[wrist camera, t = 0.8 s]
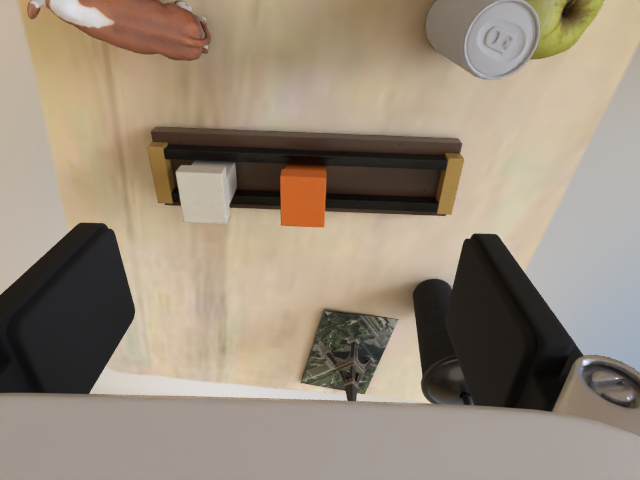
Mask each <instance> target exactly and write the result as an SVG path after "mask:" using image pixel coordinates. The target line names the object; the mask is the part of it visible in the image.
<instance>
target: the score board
mask: <svg viewBox="0 0 640 480" xmlns="http://www.w3.org/2000/svg"><path fill="white" fill-rule="evenodd" d="M151 134H152V140H153V142H167V143H168V145H169V144H172V145H198V146H223V147H249V148H274V149H300V150H326V151H351V152H377V153H402V154H428V155H445V153H455V154H460V151H461V146H462V143H461V142H460V140H459V139H454V138H429V137H403V136H378V135H352V134H327V133H301V132H276V131H250V130H225V129H199V128H174V127H156V128H154V129H153V130H152V131H151ZM194 161H195V160H176V159H171V165H172V171H173V177H174V183H175V188H176V187H178V184H177V178H176V171H177V170H178V168H179V167H180V166H181V165H192V164H193V162H194ZM235 166H236V178H237V188H236V190H260V191H280V175H281V171H282V169H285V166H286V164H278V163H252V162H235ZM440 175H441V170H432V169H406V168H381V167H355V166H329V165H326V193H337V194H363V195H389V196H415V197H436V194H437V189H438V184H439V180H440ZM165 205H178V206H181V202H173V203H172V204H170V203H165ZM229 207H230V208H256V209H281V206H263V205H237V204H229ZM325 211H333V212H359V213H385V214H411V215H437V216H446V214H437V213H436V212H418V211H392V210H366V209H340V208H325Z"/></svg>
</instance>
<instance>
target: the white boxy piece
mask: <svg viewBox="0 0 640 480" xmlns="http://www.w3.org/2000/svg"><path fill="white" fill-rule="evenodd" d="M176 178H177V184H178V190H179V196H180V202H181V208H182V214H183V220H184V222H197V223H223V224H227V222H228V219H229V217H230V208H229V204H230V202H231V200H232V197H233V195H234V193H235V191H236V188H237V178H236V166H235V162H227V161H201V160H195V161H194V162H193V164H192V165H181V166H180V167H179V168H178V170H177V171H176Z"/></svg>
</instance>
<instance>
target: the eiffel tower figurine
mask: <svg viewBox="0 0 640 480" xmlns="http://www.w3.org/2000/svg"><path fill="white" fill-rule="evenodd" d="M396 323H397V319H389V318H382V317H375V316H367V315H353V314H341V313H333V312H326V311H324V312H323V315H322V319H321V322H320V325H319V328H318V331H317V334H316V337H315V341H314V344H313V347H312V350H311V354H310V357H309V360H308V363H307V366H306V369H305V372H304V374H303V377H302V380H301V383H305V384H310V385H316V386H322V387H327V388H333V389H339V390H344V391H346V394H347V400H348V401H356V395H357V393H361V394H365V392H366V390H367V387H368V385H369V383H370V381H371V378H372V376H373V374H374V372H375V370H376V367H377V365H378V363H379V361H380V359H381V356H382V354H383V352H384V350H385V347H386V345H387V343H388V341H389V338H390V336H391V334H392V332H393V329H394V327H395V325H396Z"/></svg>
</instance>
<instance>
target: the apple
mask: <svg viewBox="0 0 640 480" xmlns="http://www.w3.org/2000/svg"><path fill="white" fill-rule="evenodd" d="M524 1H525V2H527V3H528V4H529V5H530V6H532V7H533V9H534V10H535V12H536V13H537V15H538V19H539V23H540V36H539V40H538V44H537V47H536V49H535V51H534V53H533V55H532V57H531V58H530V59H541V58H546V57H550V56H553V55H556V54H559V53H561V52H563V51H565V50H567V49H569V48H570V47H571V46H573V45H574V44H575V43H576V42H577V40H578V39H579V38H580V36H581V35H582V33H583V32H584V31H585V29H586V28H587V27H588V26H589V24H590V23H591V22H592V21H593V20H594V18H595V17H596V15H597V14H598V12H599V10H600V8H601V6H602V4H603V1H604V0H524Z"/></svg>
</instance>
